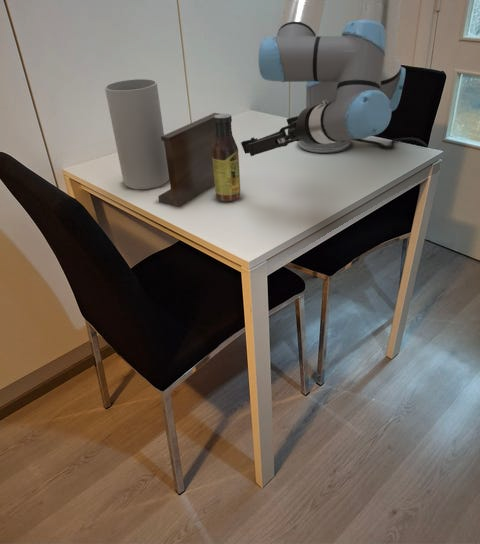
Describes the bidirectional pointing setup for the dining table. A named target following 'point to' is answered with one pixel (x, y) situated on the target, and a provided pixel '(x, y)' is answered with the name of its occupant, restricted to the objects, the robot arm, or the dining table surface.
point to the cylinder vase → (138, 132)
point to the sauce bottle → (225, 160)
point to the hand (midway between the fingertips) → (267, 135)
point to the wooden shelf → (189, 161)
